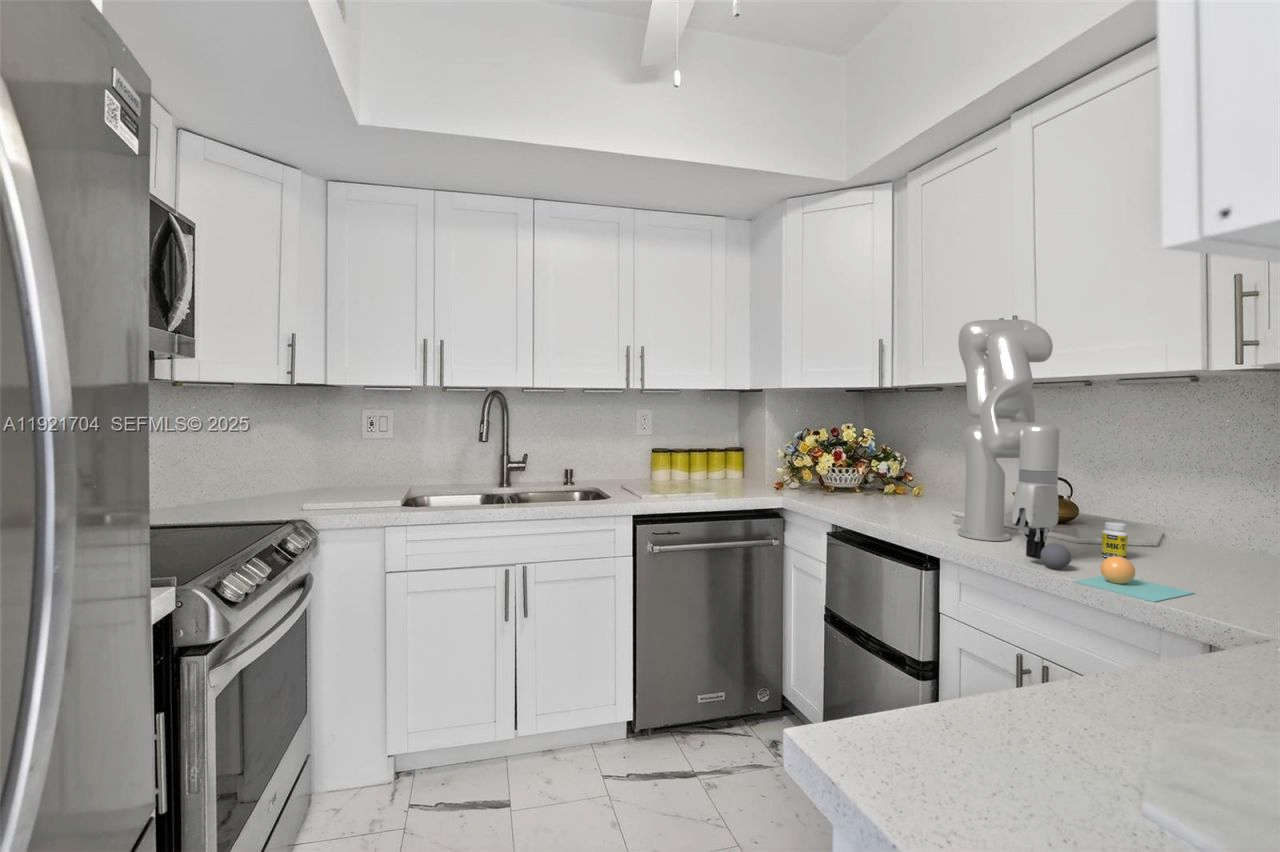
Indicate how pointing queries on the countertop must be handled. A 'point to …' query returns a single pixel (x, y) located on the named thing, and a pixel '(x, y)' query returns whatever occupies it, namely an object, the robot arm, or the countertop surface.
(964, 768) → the countertop surface
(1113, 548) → the supplement bottle
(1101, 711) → the countertop surface
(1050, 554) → the grey egg-shaped ball
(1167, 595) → the teal mark
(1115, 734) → the countertop surface
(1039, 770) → the countertop surface
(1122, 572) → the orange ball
